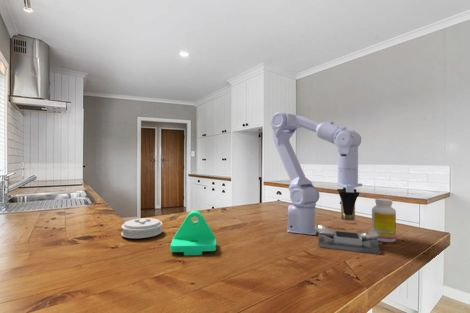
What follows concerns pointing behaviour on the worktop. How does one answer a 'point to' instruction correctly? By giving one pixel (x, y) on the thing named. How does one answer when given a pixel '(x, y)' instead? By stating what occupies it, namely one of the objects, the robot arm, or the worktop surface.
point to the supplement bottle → (384, 220)
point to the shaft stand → (349, 240)
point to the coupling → (347, 217)
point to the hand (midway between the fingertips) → (347, 213)
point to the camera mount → (193, 236)
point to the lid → (141, 228)
